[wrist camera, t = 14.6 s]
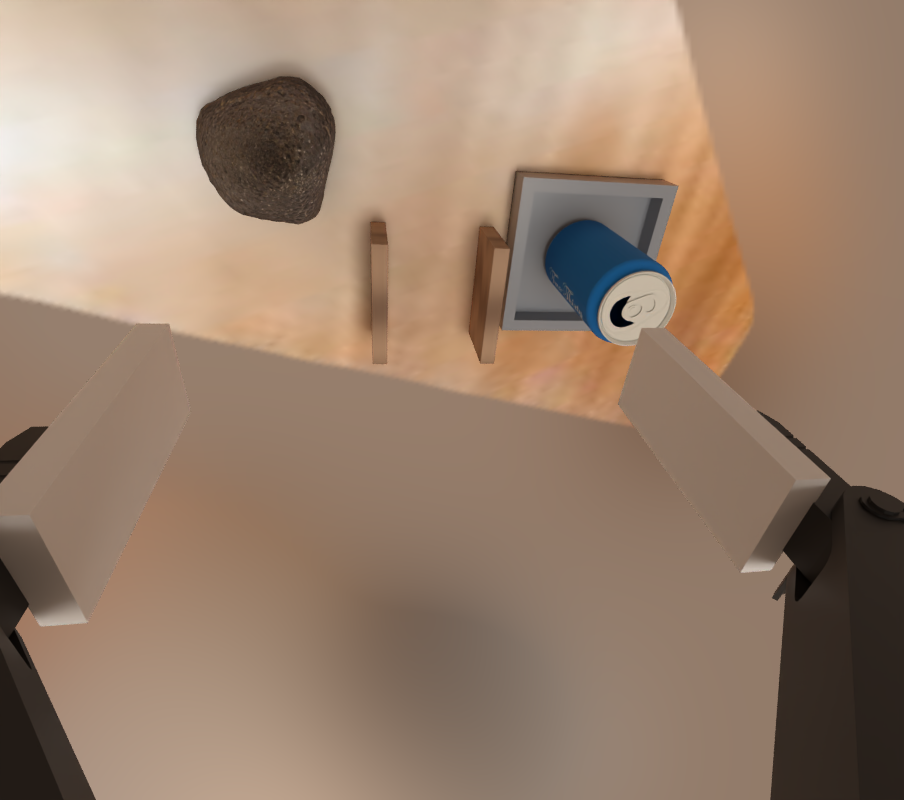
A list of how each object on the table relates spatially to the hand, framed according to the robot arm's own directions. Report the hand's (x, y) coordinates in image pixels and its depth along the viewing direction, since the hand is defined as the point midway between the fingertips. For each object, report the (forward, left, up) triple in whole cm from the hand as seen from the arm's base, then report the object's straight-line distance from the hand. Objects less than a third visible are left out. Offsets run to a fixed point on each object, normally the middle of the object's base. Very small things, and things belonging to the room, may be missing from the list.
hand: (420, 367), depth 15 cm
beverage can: (+6, +17, -30) cm, 35 cm away
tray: (+6, +17, -31) cm, 36 cm away
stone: (-2, -11, -32) cm, 34 cm away
